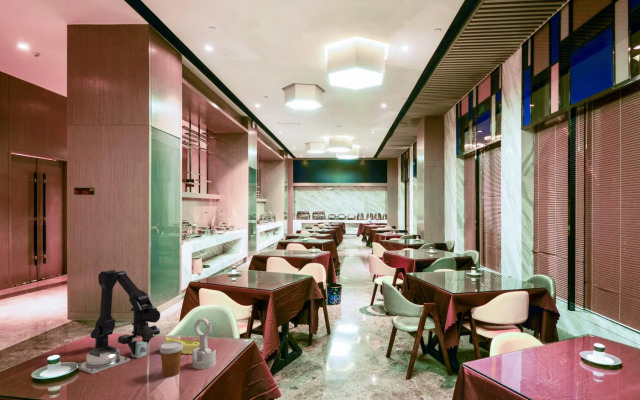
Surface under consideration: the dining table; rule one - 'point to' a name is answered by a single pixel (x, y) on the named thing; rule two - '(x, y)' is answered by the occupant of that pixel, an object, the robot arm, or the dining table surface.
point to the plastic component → (185, 344)
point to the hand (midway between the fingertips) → (139, 353)
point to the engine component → (203, 348)
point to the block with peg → (140, 349)
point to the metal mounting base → (102, 359)
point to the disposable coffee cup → (171, 358)
